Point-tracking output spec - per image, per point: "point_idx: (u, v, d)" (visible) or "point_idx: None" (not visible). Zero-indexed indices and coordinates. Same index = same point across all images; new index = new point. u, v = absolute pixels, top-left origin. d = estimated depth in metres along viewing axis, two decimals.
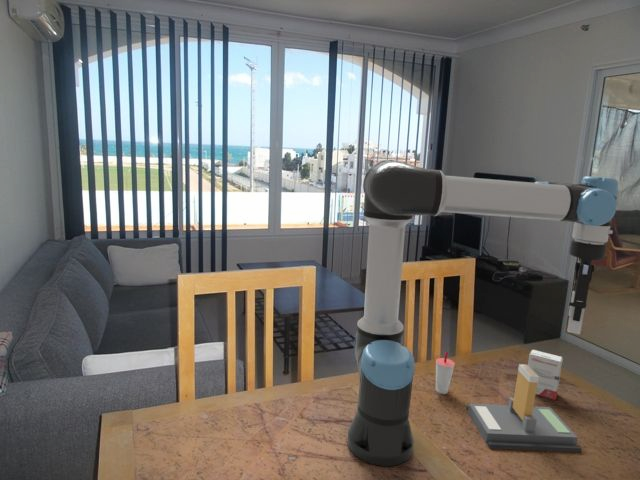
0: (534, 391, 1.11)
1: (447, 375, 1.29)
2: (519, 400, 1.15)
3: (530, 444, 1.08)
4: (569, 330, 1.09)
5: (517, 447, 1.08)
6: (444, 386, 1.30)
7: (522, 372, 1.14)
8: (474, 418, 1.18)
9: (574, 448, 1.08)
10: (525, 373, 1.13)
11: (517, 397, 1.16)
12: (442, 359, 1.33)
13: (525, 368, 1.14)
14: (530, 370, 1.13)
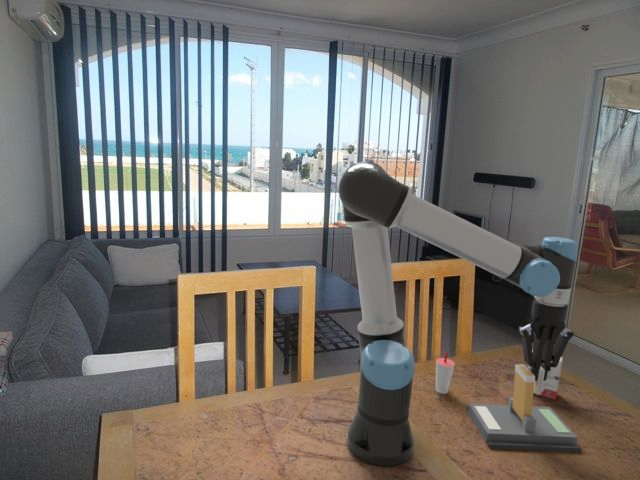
0: (532, 391, 1.11)
1: (447, 375, 1.29)
2: (518, 400, 1.15)
3: (530, 444, 1.08)
4: None
5: (517, 447, 1.08)
6: (444, 386, 1.30)
7: (519, 372, 1.14)
8: (474, 418, 1.18)
9: (574, 448, 1.08)
10: (521, 373, 1.13)
11: (516, 397, 1.16)
12: (442, 359, 1.33)
13: (521, 368, 1.14)
14: (526, 370, 1.13)
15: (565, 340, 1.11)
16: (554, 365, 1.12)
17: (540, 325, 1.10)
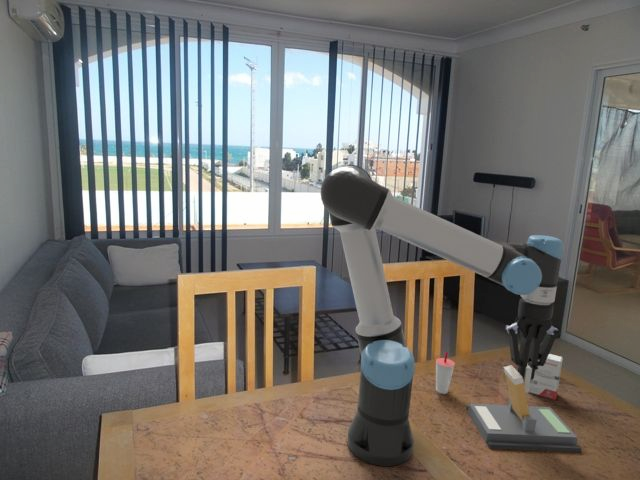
0: (523, 391, 1.11)
1: (447, 375, 1.29)
2: (514, 401, 1.15)
3: (530, 444, 1.08)
4: None
5: (517, 447, 1.08)
6: (444, 386, 1.30)
7: (508, 374, 1.14)
8: (474, 418, 1.18)
9: (574, 448, 1.08)
10: (510, 376, 1.13)
11: (512, 399, 1.16)
12: (442, 359, 1.33)
13: (509, 370, 1.14)
14: (514, 371, 1.13)
15: (552, 338, 1.10)
16: (541, 364, 1.12)
17: (526, 324, 1.10)
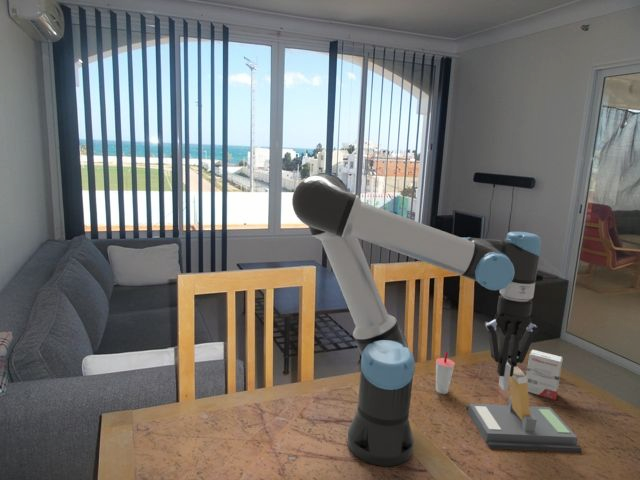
0: (526, 391, 1.11)
1: (447, 375, 1.29)
2: (515, 401, 1.15)
3: (530, 444, 1.08)
4: (499, 383, 1.15)
5: (517, 447, 1.08)
6: (444, 386, 1.30)
7: None
8: (474, 418, 1.18)
9: (574, 448, 1.08)
10: (513, 375, 1.13)
11: (513, 398, 1.16)
12: (442, 359, 1.33)
13: None
14: (518, 370, 1.13)
15: (531, 335, 1.10)
16: (520, 360, 1.11)
17: (505, 320, 1.09)
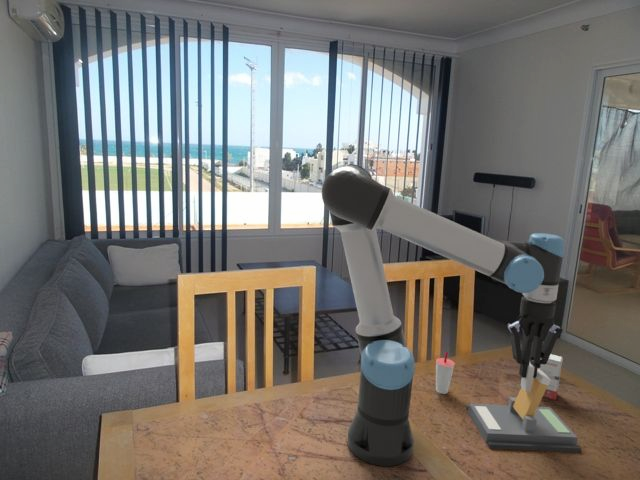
0: (542, 393, 1.11)
1: (447, 375, 1.29)
2: (523, 399, 1.15)
3: (530, 444, 1.08)
4: (521, 385, 1.15)
5: (517, 447, 1.08)
6: (444, 386, 1.30)
7: None
8: (474, 418, 1.18)
9: (574, 448, 1.08)
10: (537, 374, 1.13)
11: (521, 397, 1.16)
12: (442, 359, 1.33)
13: (537, 370, 1.14)
14: (542, 373, 1.13)
15: (554, 337, 1.10)
16: (544, 362, 1.12)
17: (528, 322, 1.10)
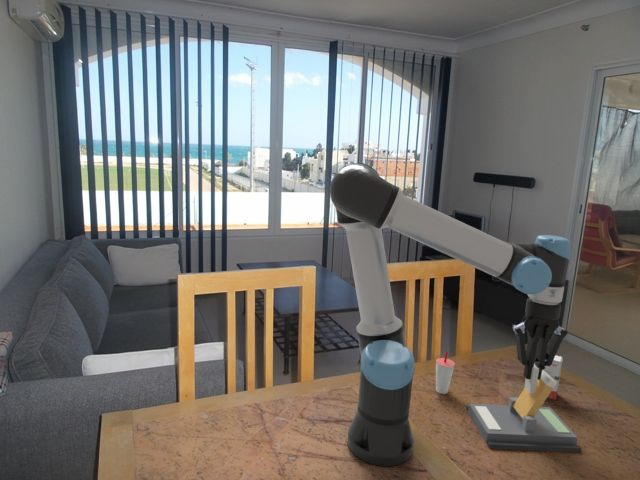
0: (546, 395, 1.11)
1: (447, 375, 1.29)
2: (525, 400, 1.15)
3: (530, 444, 1.08)
4: (525, 386, 1.15)
5: (517, 447, 1.08)
6: (444, 386, 1.30)
7: None
8: (474, 418, 1.18)
9: (574, 448, 1.08)
10: (543, 376, 1.13)
11: (523, 397, 1.16)
12: (442, 359, 1.33)
13: (544, 372, 1.15)
14: (548, 375, 1.14)
15: (559, 338, 1.10)
16: (548, 364, 1.12)
17: (534, 323, 1.10)
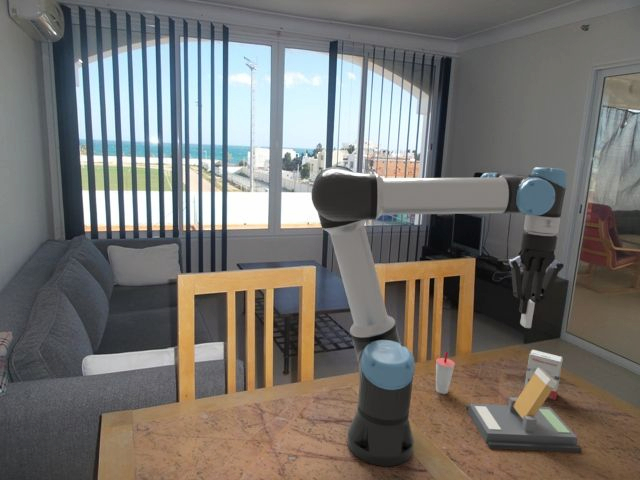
0: (546, 395, 1.11)
1: (447, 375, 1.29)
2: (525, 400, 1.15)
3: (530, 444, 1.08)
4: (521, 322, 1.15)
5: (517, 447, 1.08)
6: (444, 386, 1.30)
7: (540, 374, 1.14)
8: (474, 418, 1.18)
9: (574, 448, 1.08)
10: (543, 376, 1.13)
11: (523, 397, 1.16)
12: (442, 359, 1.33)
13: (544, 372, 1.15)
14: (548, 375, 1.14)
15: (555, 272, 1.10)
16: (544, 298, 1.11)
17: (529, 256, 1.09)
